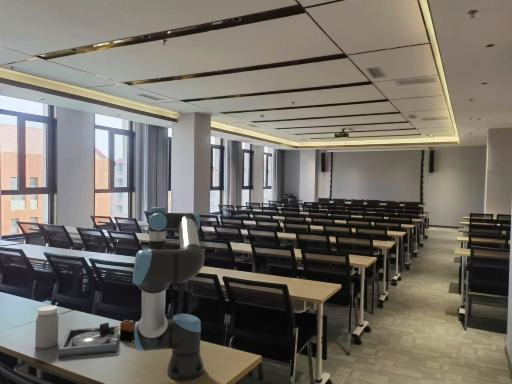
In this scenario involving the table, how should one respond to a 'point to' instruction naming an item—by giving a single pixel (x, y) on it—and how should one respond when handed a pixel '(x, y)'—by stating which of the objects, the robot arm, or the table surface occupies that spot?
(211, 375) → the table surface
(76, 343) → the dial
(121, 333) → the battery
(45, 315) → the jar
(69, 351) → the housing
